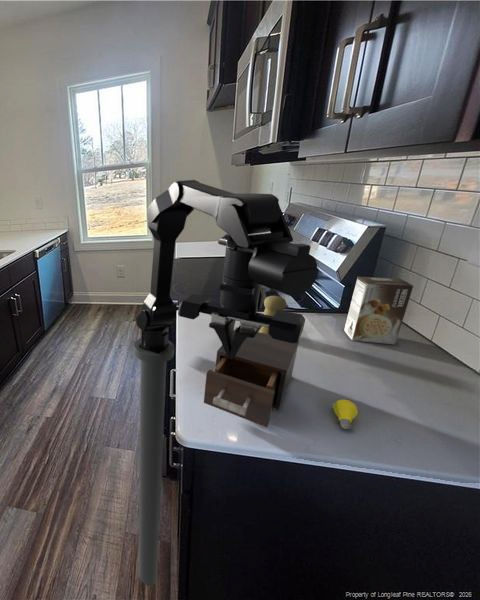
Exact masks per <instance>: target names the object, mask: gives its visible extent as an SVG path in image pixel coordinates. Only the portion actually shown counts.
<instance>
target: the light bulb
mask: <svg viewBox="0 0 480 600" xmlns="http://www.w3.org/2000/svg"><path fill="white" fill-rule="evenodd" d="M332 407H333V412H334V414H335V416H337V417H338V421H340V424H339V425H340V427H341V428H343V429H344V430H348V429H350V428H351V423H353V420H354V419H356V417H357V416H358V414H359V411H358V408H357V405H356V404H355V403H354V402H352V401H351V400H349V399H344V398H343V399H338V400H337V401H336V402H334V403H333V406H332Z"/></svg>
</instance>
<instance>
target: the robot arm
mask: <svg viewBox="0 0 480 600" xmlns="http://www.w3.org/2000/svg"><path fill="white" fill-rule="evenodd" d="M279 201H280V199H279V198H278V196H276V195H274V194H272V193H235V192H231V191H227V190H225V189H221V188H218V187H215V186H213V185H212V186H211V185H208V184H205V183H202V182H200V181H199V180H196V179H186V180H177V181H175V182H172V184H170V186H169V188H168V189H167V190H165V191H163V192H162V193H161V194H159V195H157V196H156V197H155V198H154V199H153V201H152V202H151V203H150V205H148V208H147V210H146V217H147V218H146V219H147V227H148V230H149V231H150V233H151V235H152V237H153V252H152V262H151V263H152V265H151V278H150V292H149V294H148V295H147V297H146V298H145V299H144V301H143V303H142V309H141V311H140V312H139V313H138V315H137V316H136V317H135V322H136V326H137V327H138V328H139V329H140V331H141V336H140V338H141V344H139V345H138V347H139V348H142V349H145V350H148V351H151V352H154V353H157V354H159V353H161V352H162V351H163V350H164V349H165V348H166V347H167V346H168V345H169V343H168V340H169V337H170V336H169V334H170V333H169V332H168V328H173V326H174V323H175V320H176V319H177V315H178V317H181V318H186V319H189V320H192V321H193V320H195V319H197V318H198V317H200V313H202V314H205V315H208V316H209V315H210V316H211V319H210V322H209V324H208V327H209V328H210V329H213V330H214V332H215V333H216V335H217V337H218V339H219V341H220V342H221V346H222V345H223V348H224V350H225V353H226V355H227V358H228V359H231V360H233V359H234V357H235V355H236V354H237V352H238V350H239V348H240V347H241V345H242V343H243V342H244V341H245V339H246V338H247V337H249V338H254V337H255V336H256V335H257V333H258V332H259V330H260V329H261V327H262V326H263V327H268V328H269V331H268V333H269V335H270V336H271V337H272V338H273V339H276V340H280V341H285V342H289V343H298V341H299V340H300V338H301V336H302V333H303V331H304V327H305V322H306V318H305V317H304V315H303V314H302V313H297V312H291V311H287V310H283V311H281V310H277V312H276V313H275V315H274V316H269V315H264V313H262V312H257V311H260V310H261V309H262V306H263V305H264V301H265V295H266V291H267V288H269V289H271V290H274V291H276V292H279V293H281V294H284V295H285V296H289V297H293V298H294V297H299V296H302V295H304V294H305V293H307V292H308V291H309V290H310V289H311V288H312V287H313V285H314V284H315V283H316V281H317V278H318V275H319V268H318V262H317V260H316V259H315V257H314V256H313V255H311V254H310V252H311V245H310V244H305V243H293V241H294V237H293V235H292V233H291V229H290V227H289V225H288V223H287V219H286V218H285V215H284V213H283V210H282V207H281V206H280V203H279ZM194 210H198V211H199V212H201V213H204V214H206V215H208V216H211V217H212V218H214V219H215V224H216V226H217V227H218V228H220V229H221V230H222V231H223V232H225V233H226V234H225V235H224V236H222V237H220V238H219V239H218V240H217V243H218V245H220V246H224V247H225V252H224V253H225V255H224V264H223V272H222V280H221V283H220V284H219V291H220V299H219V305H218V304H214V303H212V298H211V296H208V295H207V296H206V295H201V294H197V293H191V294H190V295H189V296H187V297H185V298H184V299H183V300H181V301H180V303H179V304H178V306H177V304H176V303H175V302H174V300H173V298H172V297H171V289H172V280H173V269H174V260H175V251H176V240H177V239H178V238H179V236H180V235H181V233H183V231H184V230H185V227H186V223H187V218H188V217H189V216H190V215H191V214H192V213H193V212H194ZM262 286H264V287H262ZM177 311H178V314H177ZM236 321H237V322H239V326H237V327H238V328H237V330H236V331H235V334H234V330H235V325H236ZM299 342H300V341H299Z"/></svg>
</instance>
